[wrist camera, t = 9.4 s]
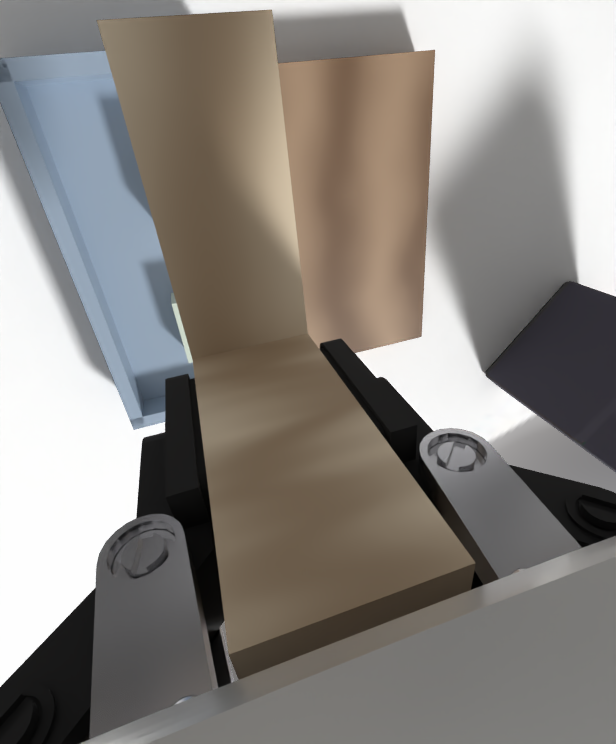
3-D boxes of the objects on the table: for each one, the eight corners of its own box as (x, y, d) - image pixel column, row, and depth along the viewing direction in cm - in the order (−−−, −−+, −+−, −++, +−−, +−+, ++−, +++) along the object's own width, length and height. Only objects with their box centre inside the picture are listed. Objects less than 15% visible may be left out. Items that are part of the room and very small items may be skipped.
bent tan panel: (248, 38, 10) (663, -461, 2) (313, 508, 18) (431, 805, 10) (112, 47, 9) (-301, -665, 1) (244, 530, 17) (312, 864, 9)
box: (215, 54, 22) (223, 42, 19) (269, 369, 32) (280, 392, 29) (8, 71, 20) (-18, 59, 17) (136, 401, 30) (133, 429, 27)
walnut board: (416, 55, 25) (434, 50, 23) (408, 327, 34) (421, 336, 32) (218, 73, 22) (222, 68, 21) (268, 360, 32) (273, 372, 30)
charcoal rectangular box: (502, 389, 41) (650, 498, 29) (479, 371, 39) (628, 480, 27) (584, 300, 39) (785, 377, 26) (564, 275, 37) (773, 346, 24)
